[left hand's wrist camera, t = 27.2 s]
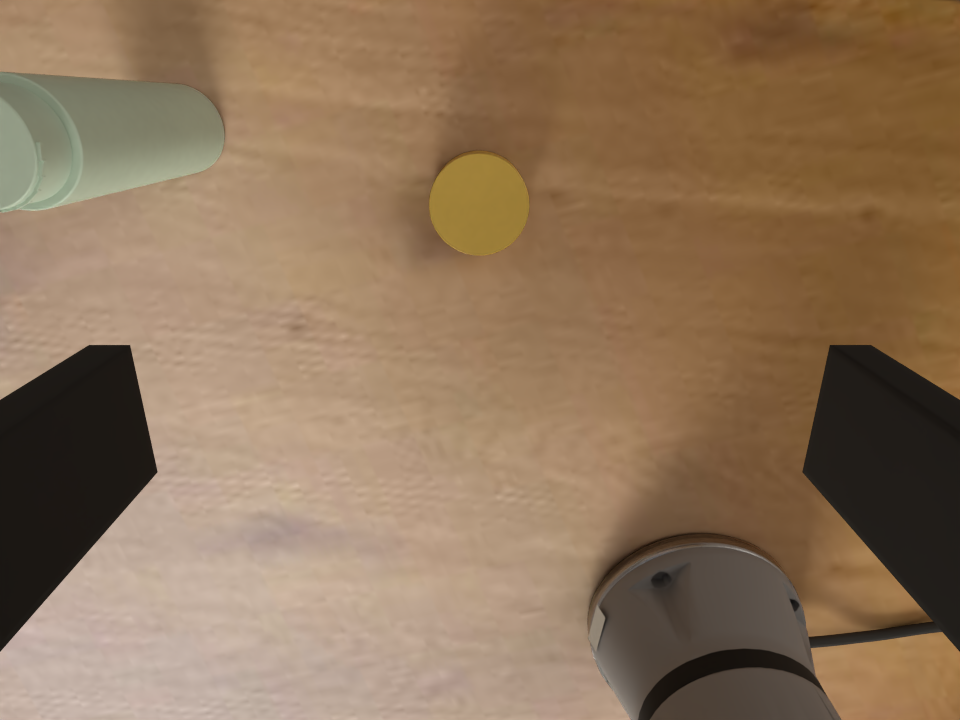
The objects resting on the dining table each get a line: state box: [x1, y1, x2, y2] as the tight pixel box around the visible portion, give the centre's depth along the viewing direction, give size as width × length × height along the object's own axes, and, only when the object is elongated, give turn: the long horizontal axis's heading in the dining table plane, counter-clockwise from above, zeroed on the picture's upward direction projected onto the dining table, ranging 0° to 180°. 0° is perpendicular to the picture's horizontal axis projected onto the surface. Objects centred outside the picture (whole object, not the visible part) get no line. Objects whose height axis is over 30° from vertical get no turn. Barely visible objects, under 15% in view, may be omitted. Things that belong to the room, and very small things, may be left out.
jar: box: [0, 72, 225, 213], centre depth 28 cm, size 5×5×16 cm
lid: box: [429, 151, 529, 256], centre depth 36 cm, size 5×5×2 cm
